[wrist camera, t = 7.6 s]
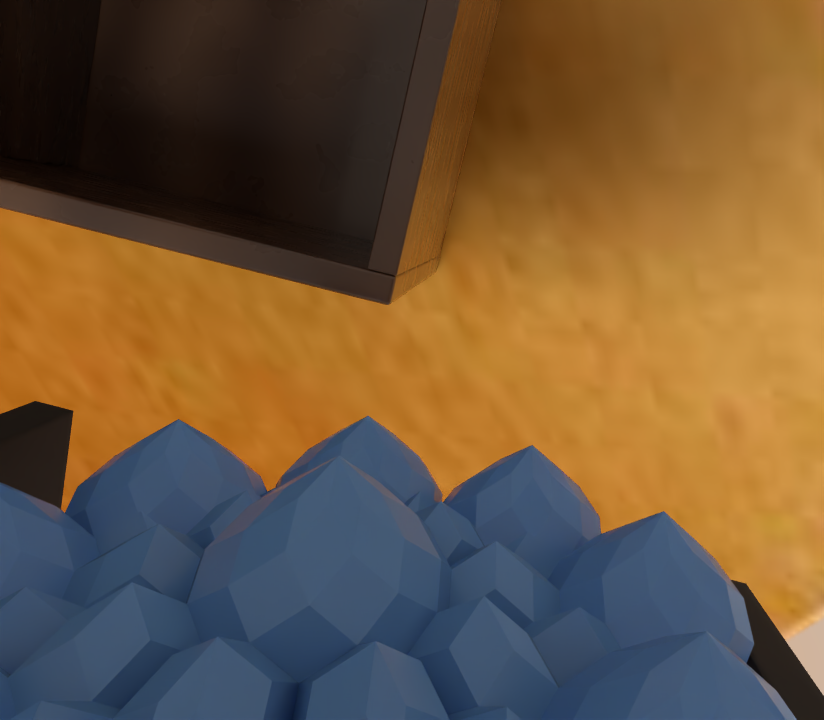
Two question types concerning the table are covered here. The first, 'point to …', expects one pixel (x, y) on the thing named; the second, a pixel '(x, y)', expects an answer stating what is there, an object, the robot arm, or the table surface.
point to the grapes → (358, 595)
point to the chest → (247, 128)
